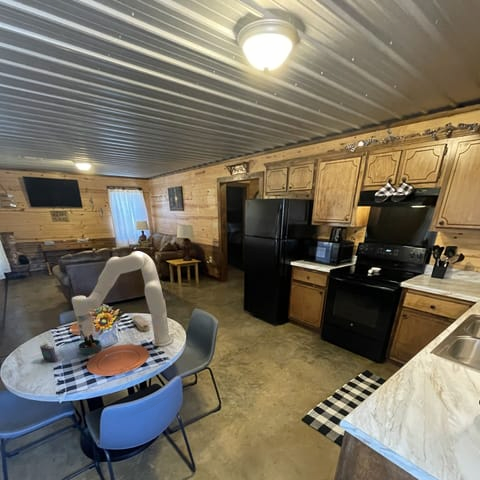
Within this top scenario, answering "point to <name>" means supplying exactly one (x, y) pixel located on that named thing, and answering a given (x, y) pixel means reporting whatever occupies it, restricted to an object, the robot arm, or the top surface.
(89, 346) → the brush
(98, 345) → the bowl
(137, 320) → the shoe brush
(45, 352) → the flask
